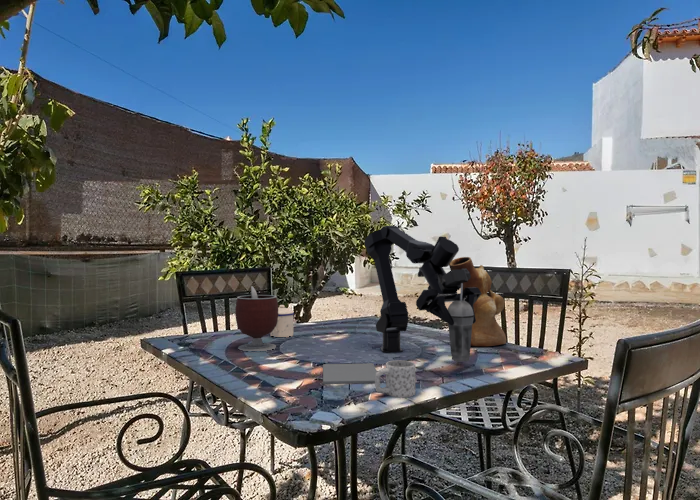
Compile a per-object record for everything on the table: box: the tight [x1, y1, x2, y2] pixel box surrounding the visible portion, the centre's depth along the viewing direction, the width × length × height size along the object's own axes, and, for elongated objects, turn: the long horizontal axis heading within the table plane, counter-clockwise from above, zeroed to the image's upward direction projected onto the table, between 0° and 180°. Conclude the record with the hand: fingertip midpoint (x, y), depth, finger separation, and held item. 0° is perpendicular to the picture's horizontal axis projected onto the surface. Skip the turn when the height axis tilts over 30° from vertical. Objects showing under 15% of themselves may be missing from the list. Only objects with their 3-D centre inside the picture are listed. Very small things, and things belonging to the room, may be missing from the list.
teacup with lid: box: [269, 304, 295, 338], centre depth 182 cm, size 12×9×12 cm
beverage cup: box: [447, 283, 474, 362], centre depth 127 cm, size 7×7×20 cm
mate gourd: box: [234, 285, 279, 352], centre depth 161 cm, size 16×14×20 cm
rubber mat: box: [322, 362, 382, 385], centre depth 127 cm, size 18×14×1 cm
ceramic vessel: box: [448, 256, 507, 347], centre depth 166 cm, size 16×22×30 cm
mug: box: [374, 359, 416, 398], centre depth 109 cm, size 10×7×7 cm, turn 118°
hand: (463, 323), depth 126 cm, fingers closed on beverage cup, 7 cm apart
